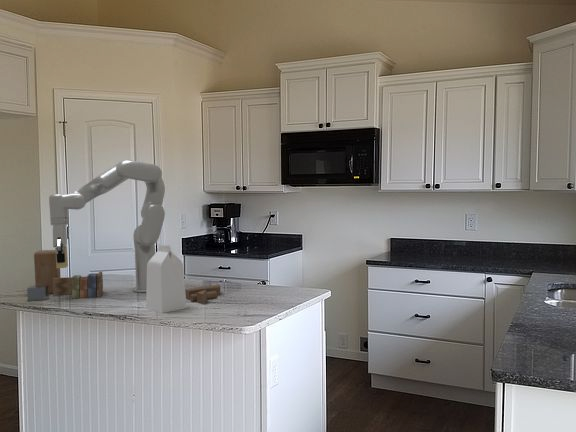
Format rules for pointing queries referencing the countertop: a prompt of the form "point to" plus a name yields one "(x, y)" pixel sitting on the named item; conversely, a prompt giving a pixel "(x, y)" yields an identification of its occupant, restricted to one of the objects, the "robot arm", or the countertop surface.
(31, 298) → the grey stone cube
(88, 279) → the rack
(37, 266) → the wooden block
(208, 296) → the wooden block set
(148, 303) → the milk
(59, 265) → the tan rectangular block
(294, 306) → the countertop surface
